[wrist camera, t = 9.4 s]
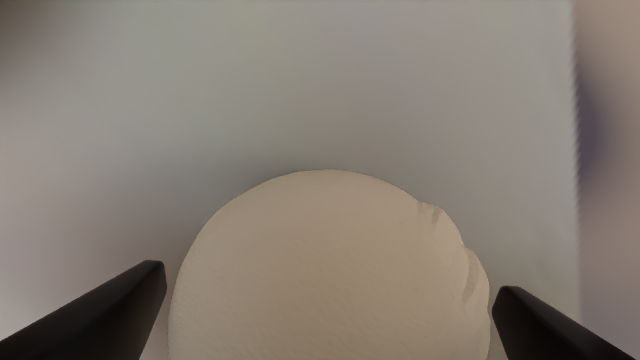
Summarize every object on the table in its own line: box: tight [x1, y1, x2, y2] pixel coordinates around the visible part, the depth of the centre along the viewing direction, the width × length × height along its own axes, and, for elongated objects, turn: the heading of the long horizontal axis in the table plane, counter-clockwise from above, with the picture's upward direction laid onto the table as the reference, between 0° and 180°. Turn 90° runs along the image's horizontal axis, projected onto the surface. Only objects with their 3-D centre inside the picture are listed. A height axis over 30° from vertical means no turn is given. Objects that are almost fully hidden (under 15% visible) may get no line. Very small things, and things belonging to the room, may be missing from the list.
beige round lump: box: [167, 169, 491, 360], centre depth 8 cm, size 7×7×7 cm
